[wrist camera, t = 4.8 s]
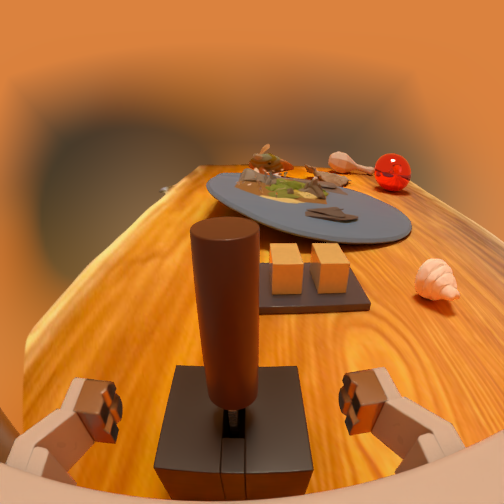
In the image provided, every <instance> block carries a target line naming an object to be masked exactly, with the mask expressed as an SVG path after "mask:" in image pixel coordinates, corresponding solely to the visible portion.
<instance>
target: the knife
mask: <svg viewBox="0 0 504 504" xmlns="http://www.w3.org/2000/svg"><path fill="white" fill-rule="evenodd" d="M190 238H191V250H192V262H193V273H194V283H195V293H196V303H197V312H198V321H199V329H200V338H201V346H202V353H203V361H204V368H205V376H206V383H207V390H208V396H209V398H210V400H211V401H212V403H214V404H215V405H216V406H218V407H219V408H222V409H225V410H228V414H229V425H230V435H231V438H241V436H240V418H239V410H240V409H243V408H246V407H248V406H249V405H251V404H252V403H253V402H254V401H255V399H256V398H257V395H258V356H259V264H260V227H259V225H258V224H257V223H256V222H254V221H252V220H249V219H246V218H241V217H215V218H209V219H205V220H202V221H199V222H197V223H195V224H194V225H193V226H192V227H191V229H190Z"/></svg>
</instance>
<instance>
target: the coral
mask: <svg viewBox="0 0 504 504" xmlns="http://www.w3.org/2000/svg"><path fill="white" fill-rule="evenodd" d="M305 168H306V170H307V172H309V173H313V174H314V176H317V180H318V181H324V182H330V183H334V184H336V185H337V186H338V187H341V186H343V185H346V184H347V183H348V181H351V180H348V179H347V178H346V177H345V176H340V175H337V174H335V173H328V172H320V171H317V170H316V168H315V167H312V166H308V165H306V164H305Z"/></svg>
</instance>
